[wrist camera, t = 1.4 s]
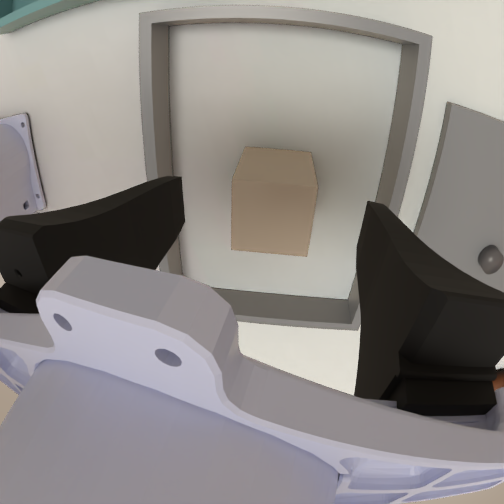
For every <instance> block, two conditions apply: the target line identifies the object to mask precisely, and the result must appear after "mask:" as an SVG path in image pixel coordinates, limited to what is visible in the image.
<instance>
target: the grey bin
mask: <svg viewBox="0 0 504 504" xmlns="http://www.w3.org/2000/svg"><path fill="white" fill-rule="evenodd" d="M230 22H239V23H271V24H286V25H298V26H307V27H316V28H323V29H331V30H337V31H343V32H349V33H355V34H360V35H365V36H370V37H374V38H379V39H383V40H388V41H392V42H396V43H399V44H402V52H401V61H400V70H399V78H398V85H397V92H396V99H395V106H394V112H393V118H392V124H391V130H390V135H389V140H388V146H387V151H386V156H385V161H384V166H383V170H382V175H381V180H380V184H379V188H378V193H377V197H376V201H375V202H376V203H381V204H384V205H385V206H387V207H388V208H389V209H390V210H391V211H392V212H393V213H394V214H395V215H396V216H397V217H398V214H399V211H400V207H401V204H402V200H403V196H404V192H405V189H406V185H407V181H408V177H409V173H410V169H411V164H412V160H413V156H414V151H415V147H416V142H417V137H418V132H419V127H420V122H421V117H422V111H423V105H424V99H425V93H426V87H427V80H428V72H429V65H430V56H431V47H432V36H431V35H428V34H425V33H422V32H418V31H415V30H412V29H408V28H405V27H401V26H397V25H393V24H390V23H386V22H381V21H377V20H373V19H368V18H363V17H358V16H353V15H347V14H342V13H335V12H329V11H322V10H314V9H305V8H295V7H282V6H264V5H214V6H196V7H183V8H173V9H164V10H157V11H150V12H143V13H139V76H140V100H141V117H142V131H143V144H144V155H145V166H146V175H147V182H148V181H151V180H154V179H157V178H160V177H164V176H173V168H172V152H171V133H170V108H169V26H171V25H183V24H198V23H230ZM159 269H160V271H162V272H167V273H172V274H177V275H182V276H183V274H182V266H181V257H180V248H179V238H178V237H177V239H176V241H175V242H174V244H173V245H172V246H171V248H170V249H169V251H168V252H167V254H166V255H165V257H164V258H163V259H162V261H161V262H160V264H159ZM212 289H213V290H214V291H215V292H217V293H218V294H219V295H220V296H221V297H222V298H223V299H224V300H225V301H226V302H228V303H229V304H230V305H231V307H232V310H233V312H234V315H235V318H236V321H240V322H249V323H259V324H270V325H281V326H293V327H307V328H321V329H337V330H357V331H358V329H359V327H360V324H361V313H360V302H359V291H358V281H357V272H356V275H355V278H354V282H353V285H352V288H351V291H350V294H349V298H348V300H342V299H328V298H315V297H303V296H291V295H280V294H269V293H258V292H248V291H238V290H228V289H219V288H212Z"/></svg>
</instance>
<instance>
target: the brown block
mask: <svg viewBox="0 0 504 504" xmlns="http://www.w3.org/2000/svg"><path fill="white" fill-rule="evenodd" d="M317 192H318V184H317V179H316V174H315V169H314V165H313V160H312V156H311V152H304V151H295V150H284V149H272V148H259V147H245V149H244V151H243V153H242V156H241V158H240V161H239V163H238V166H237V168H236V171H235V173H234V175H233V178H232V213H231V250H239V251H250V252H261V253H272V254H283V255H294V256H305V257H307V254H308V248H309V243H310V237H311V230H312V224H313V218H314V212H315V205H316V199H317Z"/></svg>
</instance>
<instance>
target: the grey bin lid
mask: <svg viewBox="0 0 504 504" xmlns="http://www.w3.org/2000/svg"><path fill="white" fill-rule="evenodd" d="M414 234H415V235H416V236H417V237H418V238H419V239H420V240H421V241H423V242H424V243H425V244H426V245H427V246H428V247H429V248H431V249H432V250H433V251H435V252H436V253H437V254H438V255H440V256H441V257H442V258H444V259H445V260H446V261H448V262H449V263H451V264H452V265H454V266H455V267H457V268H458V269H460V270H461V271H463V272H465V273H466V274H468V275H470V276H472V277H473V278H475V279H477V280H479V281H481V282H483V283H484V284H486V285H488V286H491V287H493V288H495V289H497V290H500V291H502V292H504V122H503V121H500V120H498V119H495V118H493V117H490V116H488V115H485V114H482V113H480V112H477V111H474V110H471V109H468V108H466V107H463V106H460V105H457V104H453V103H450V102H447V105H446V111H445V116H444V121H443V126H442V131H441V135H440V140H439V144H438V149H437V153H436V157H435V161H434V165H433V169H432V173H431V177H430V180H429V184H428V187H427V191H426V194H425V198H424V201H423V205H422V208H421V211H420V214H419V217H418V221H417V224H416V227H415V230H414Z"/></svg>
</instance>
